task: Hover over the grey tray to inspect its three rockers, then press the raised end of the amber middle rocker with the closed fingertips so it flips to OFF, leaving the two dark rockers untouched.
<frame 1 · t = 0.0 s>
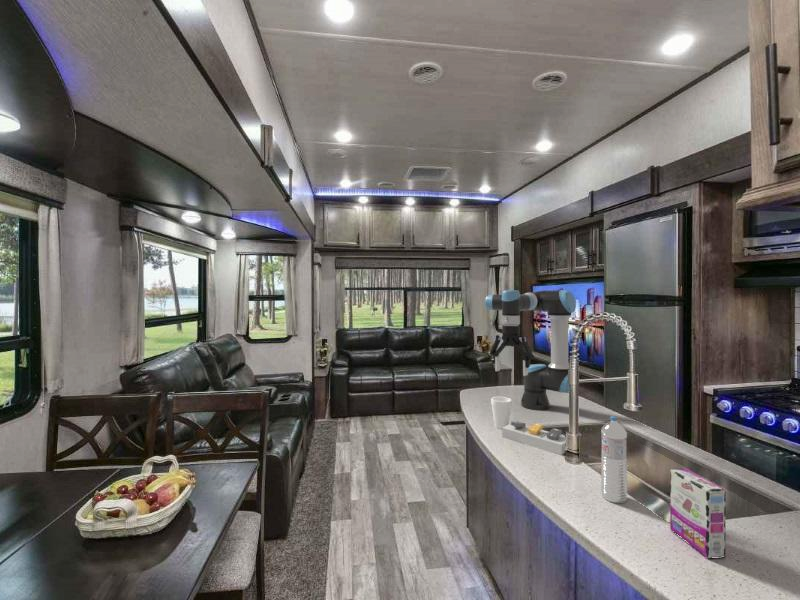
hand: (511, 373, 163), 28 cm above the countertop, fingers open, 13 cm apart
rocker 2: (535, 428, 156), point 6 cm above the countertop, hinge at 12.0°
rocker 1: (518, 424, 162), point 6 cm above the countertop, hinge at -12.0°
foam cup: (501, 427, 175), on the countertop
candy bar box: (696, 544, 92), on the countertop
water bottle: (613, 498, 113), on the countertop
grey tray: (535, 442, 156), on the countertop
rocker 3: (554, 433, 150), point 6 cm above the countertop, hinge at 12.0°
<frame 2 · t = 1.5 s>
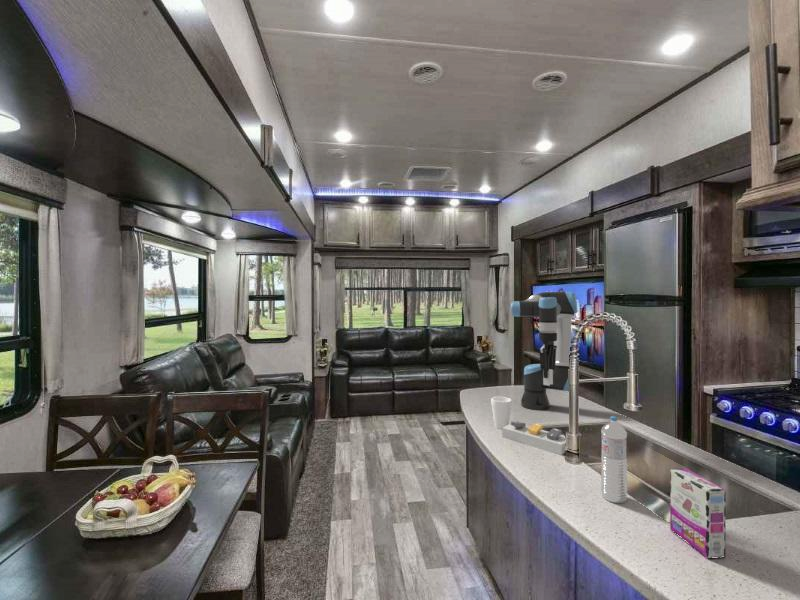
hand: (548, 384, 164), 22 cm above the countertop, fingers open, 2 cm apart
nothing on the countertop moved.
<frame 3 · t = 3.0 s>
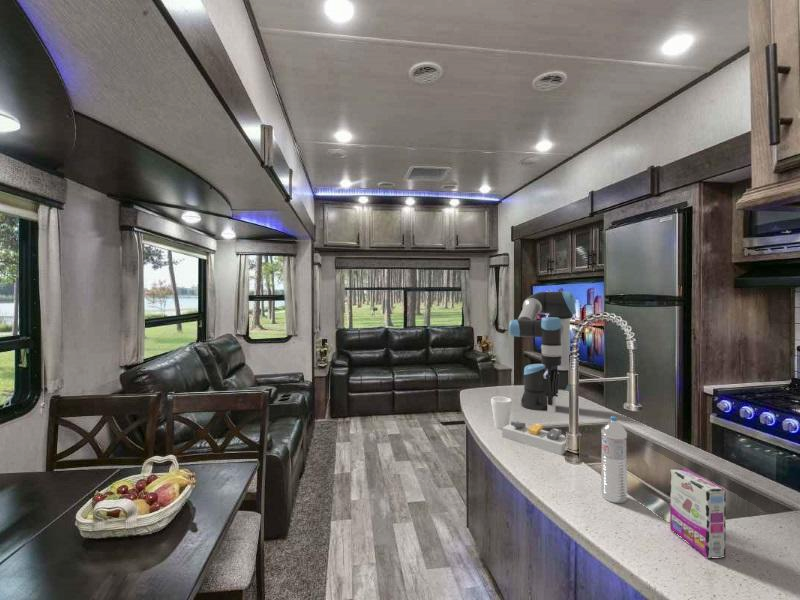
hand: (551, 412, 151), 14 cm above the countertop, fingers closed
nothing on the countertop moved.
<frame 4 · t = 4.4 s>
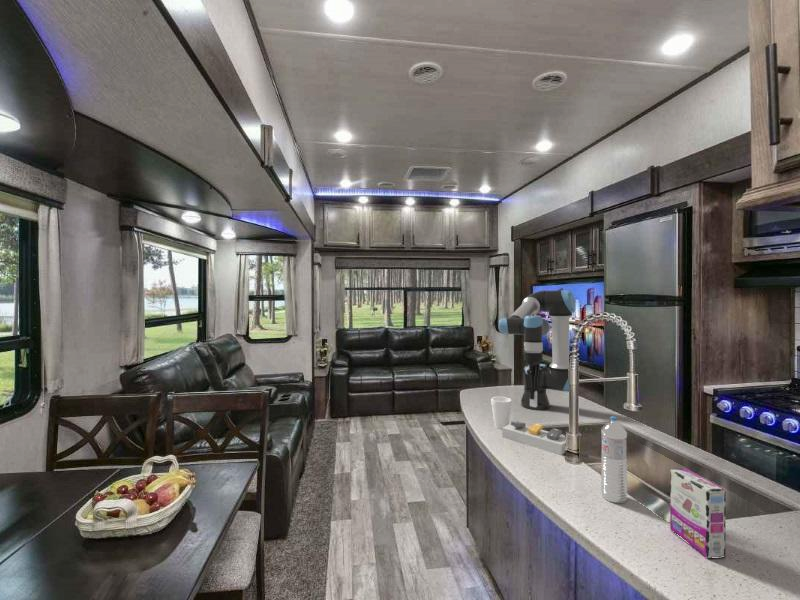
hand: (533, 406, 158), 15 cm above the countertop, fingers closed
nothing on the countertop moved.
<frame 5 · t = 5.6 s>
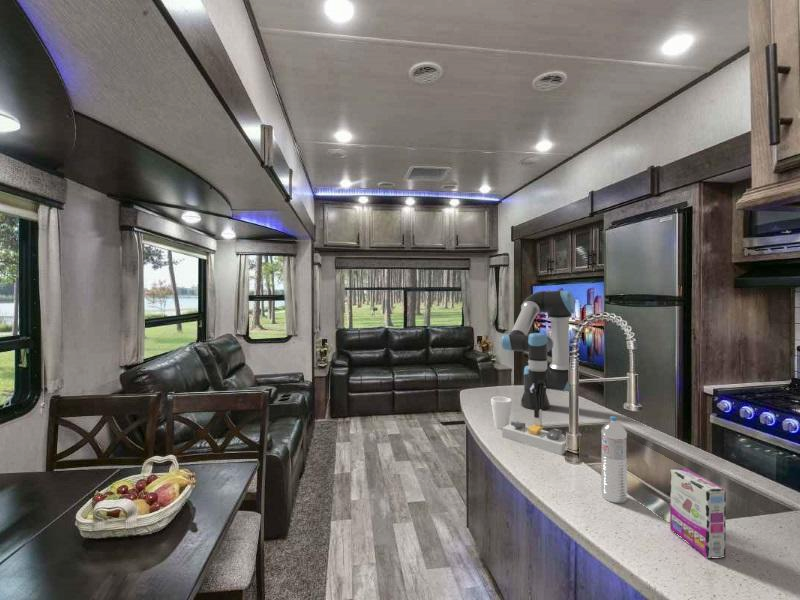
hand: (537, 424, 158), 7 cm above the countertop, fingers closed
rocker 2: (535, 428, 156), point 6 cm above the countertop, hinge at 12.0°, touching gripper
everything else where it was.
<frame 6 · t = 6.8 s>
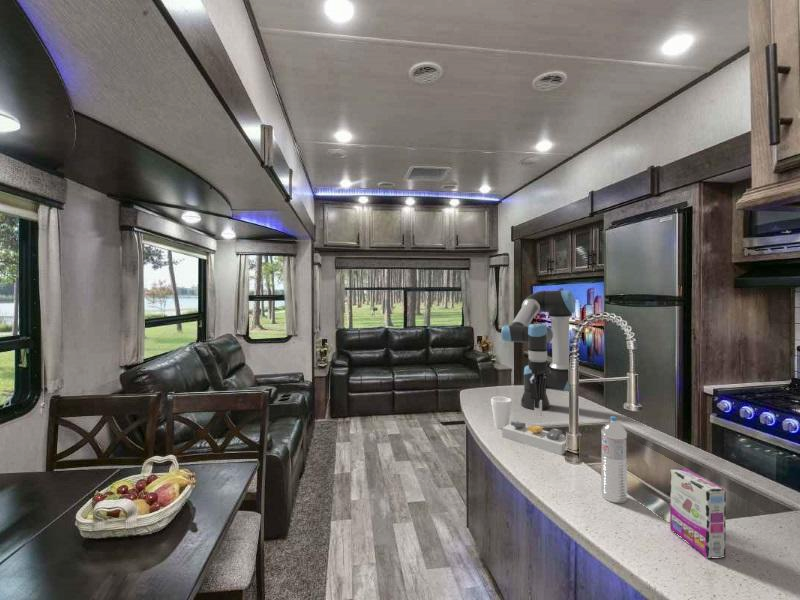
hand: (538, 414, 158), 11 cm above the countertop, fingers closed
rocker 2: (535, 428, 156), point 6 cm above the countertop, hinge at -6.5°
everything else where it was.
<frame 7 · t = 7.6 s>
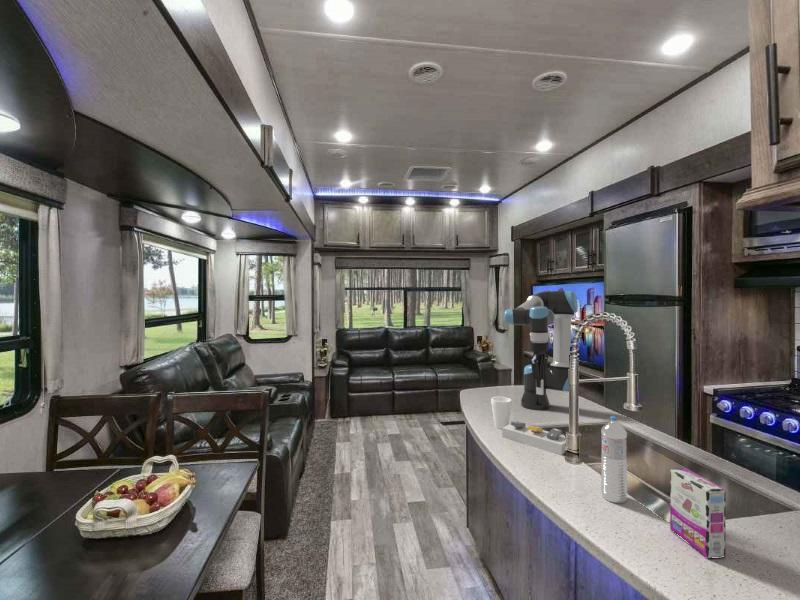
hand: (539, 394, 164), 18 cm above the countertop, fingers closed
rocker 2: (535, 428, 156), point 6 cm above the countertop, hinge at -17.0°
everything else where it was.
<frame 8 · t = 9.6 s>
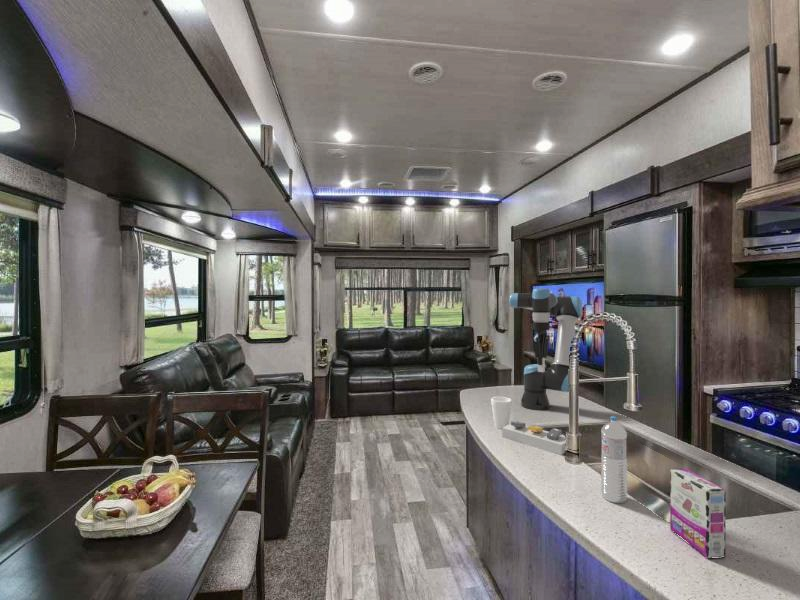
hand: (541, 371, 173), 26 cm above the countertop, fingers closed
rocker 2: (535, 428, 156), point 6 cm above the countertop, hinge at -12.4°
everything else where it was.
at the end: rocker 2 at -12° (first picture: +12°); rocker 1 at -12° (first picture: -12°); rocker 3 at +12° (first picture: +12°) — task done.
